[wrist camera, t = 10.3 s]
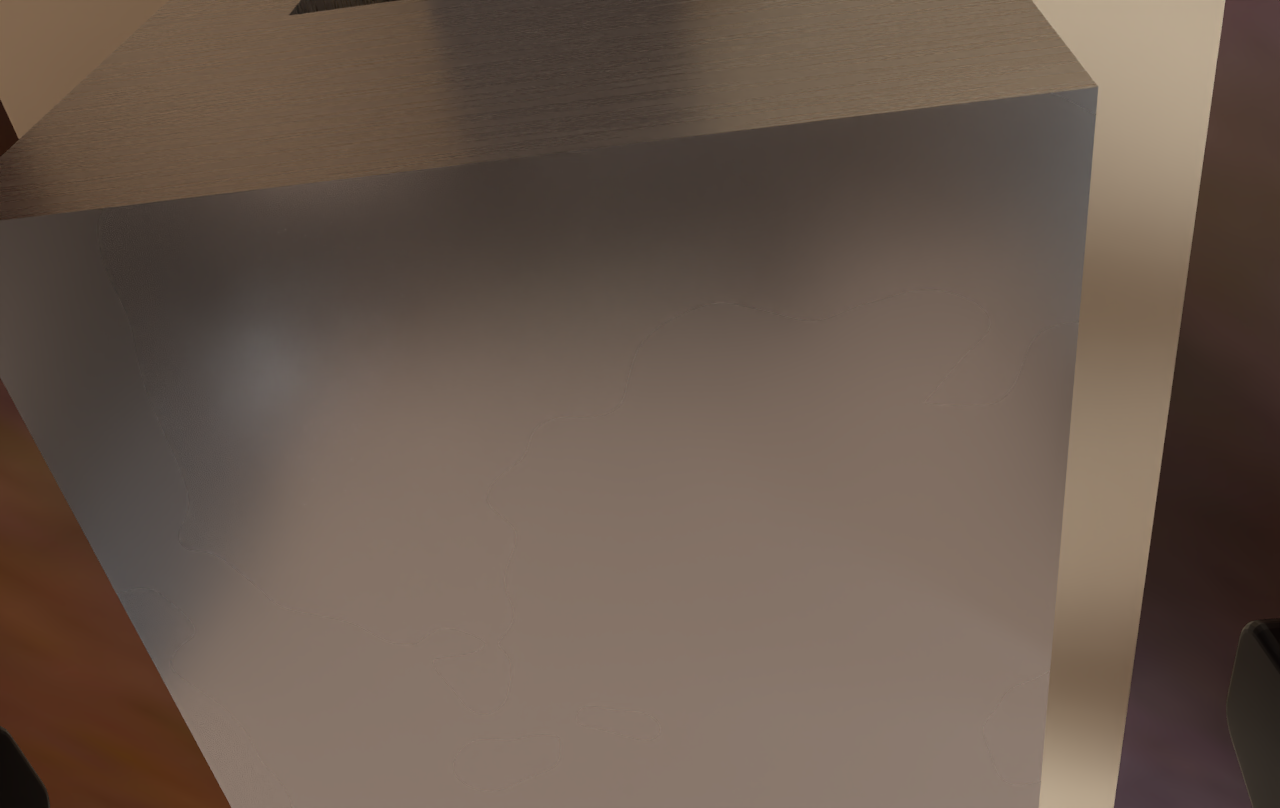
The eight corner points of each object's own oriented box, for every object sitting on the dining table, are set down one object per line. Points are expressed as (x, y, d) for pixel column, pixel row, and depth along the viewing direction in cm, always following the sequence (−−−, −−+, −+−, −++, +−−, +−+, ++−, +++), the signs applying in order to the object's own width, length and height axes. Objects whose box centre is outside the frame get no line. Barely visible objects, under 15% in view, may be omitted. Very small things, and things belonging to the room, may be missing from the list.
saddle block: (912, 577, 16) (1019, 1041, 11) (463, 615, 16) (374, 1072, 12) (903, -168, 11) (1098, 86, 6) (246, -73, 11) (-80, 230, 6)
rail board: (1076, 815, 21) (1140, 1015, 18) (404, 859, 22) (365, 1054, 19) (1348, -1640, 7) (1780, -2390, 4) (-460, -1182, 8) (-1035, -1544, 6)
